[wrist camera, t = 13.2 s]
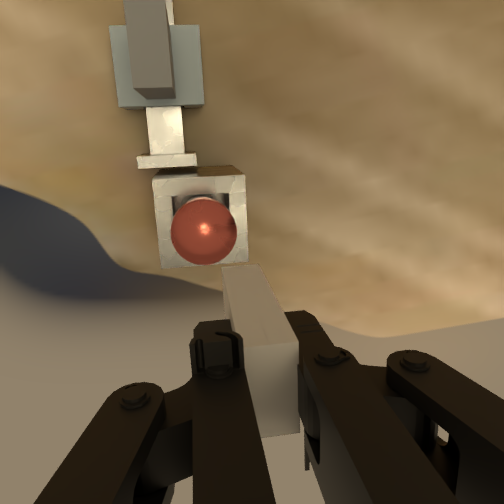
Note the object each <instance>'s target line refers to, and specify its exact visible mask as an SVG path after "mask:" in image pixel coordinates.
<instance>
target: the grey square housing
mask: <svg viewBox="0 0 504 504" xmlns="http://www.w3.org/2000/svg"><path fill="white" fill-rule="evenodd" d="M152 186H153V196H154V205H155V215H156V224H157V233H158V243H159V252H160V262H161V269H166V268H178V267H190V266H203V265H198V264H194V263H191V262H189V261H187V260H185V259H184V258H182V257H181V256H180V255H179V254H178V253H177V251H176V250H175V248H174V246H173V244H172V241H171V224H172V220H173V217H174V215H175V213H176V211H177V210H178V209H179V208H180V207H181V206H182V205H183V204H184V203H186V202H187V201H188V200H189V199H190V198H192V197H194V196H199V195H203V196H207V197H209V198H211V199H214V200H217V201H219V202H220V203H222V204H223V205H225V206H226V207H227V208H228V210H229V211H230V213H231V214H232V216H233V218H234V220H235V223H236V227H237V239H236V243H235V245H234V247H233V249H232V251H231V252H230V253H229V254H228V255H227V256H226V257H225V258H224V259H222V260H221V261H219V262H217V263H214V264H210V265H215V264H227V263H239V262H249V256H248V234H247V211H246V188H245V174H243V173H242V172H240V171H239V170H238V169H236V168H235V167H234V166H232V165H226V166H207V167H188V168H169V169H160V170H159V171H158V172H157V174H156V175H155V176H154V178H153V179H152Z"/></svg>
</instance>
